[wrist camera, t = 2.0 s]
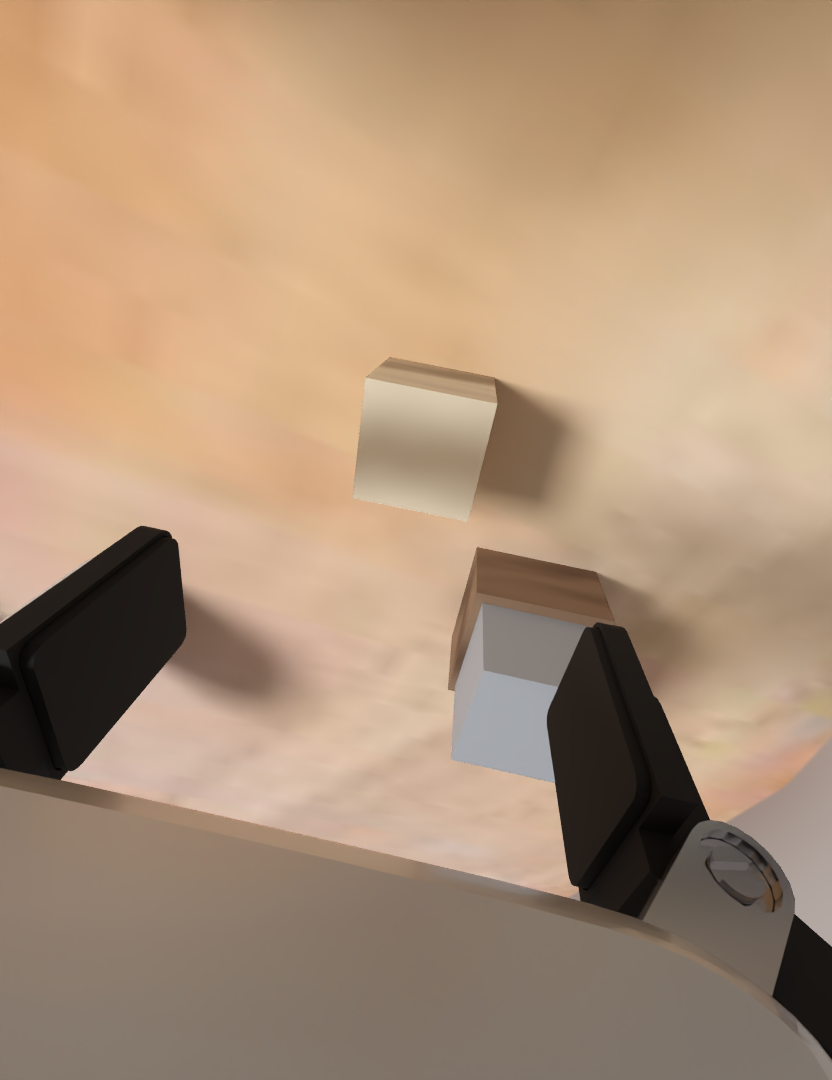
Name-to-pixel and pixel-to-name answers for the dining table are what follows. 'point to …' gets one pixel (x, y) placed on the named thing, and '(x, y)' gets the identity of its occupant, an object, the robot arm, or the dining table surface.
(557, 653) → the grey block
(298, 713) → the dining table surface
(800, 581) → the dining table surface
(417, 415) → the maple cube
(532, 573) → the walnut block
